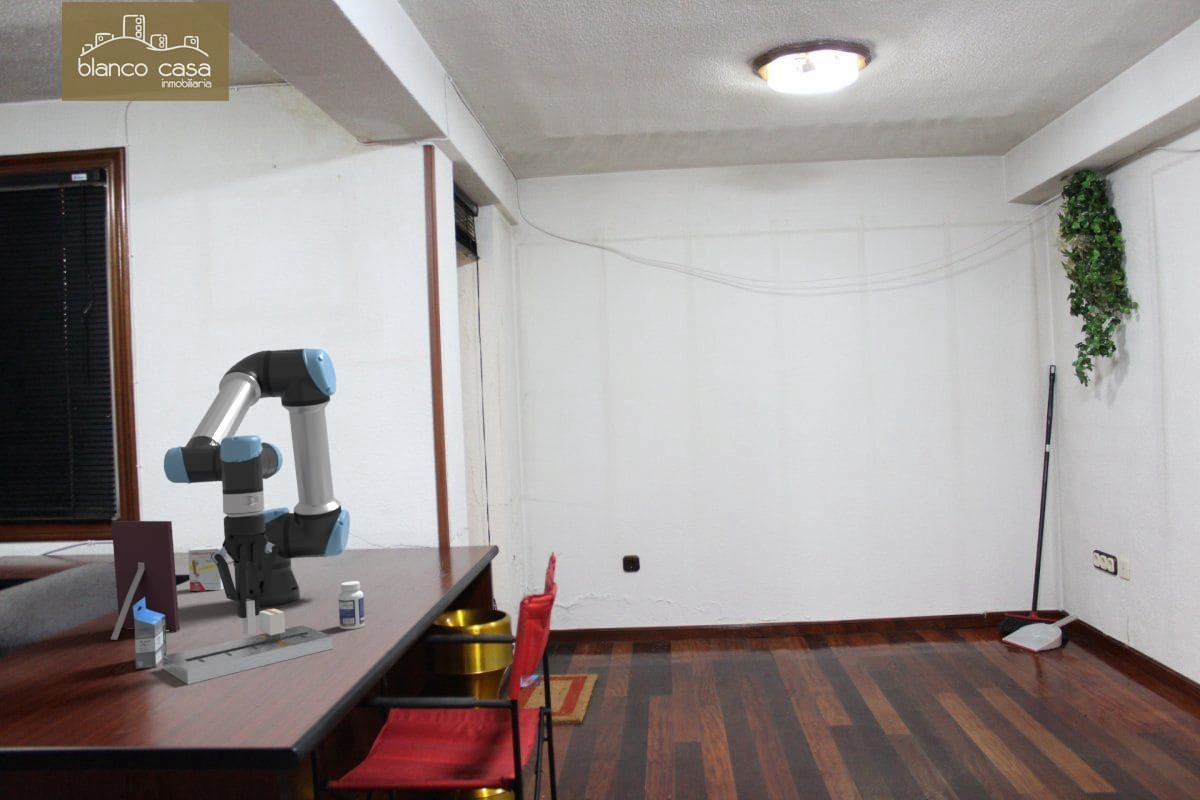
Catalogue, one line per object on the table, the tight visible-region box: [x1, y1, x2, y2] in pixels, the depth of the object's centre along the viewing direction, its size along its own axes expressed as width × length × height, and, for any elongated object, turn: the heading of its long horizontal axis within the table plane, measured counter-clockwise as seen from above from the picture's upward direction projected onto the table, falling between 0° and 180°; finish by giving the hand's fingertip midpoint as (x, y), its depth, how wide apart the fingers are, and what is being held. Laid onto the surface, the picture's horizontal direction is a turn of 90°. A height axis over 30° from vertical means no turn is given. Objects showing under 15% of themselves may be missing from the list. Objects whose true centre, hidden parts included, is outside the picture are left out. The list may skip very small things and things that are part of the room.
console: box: [162, 624, 334, 685], centre depth 171 cm, size 14×28×3 cm, turn 133°
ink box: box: [187, 544, 224, 592], centre depth 241 cm, size 9×5×12 cm, turn 95°
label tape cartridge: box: [133, 597, 168, 670], centre depth 171 cm, size 9×4×12 cm, turn 14°
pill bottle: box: [338, 580, 366, 630], centre depth 193 cm, size 5×5×10 cm
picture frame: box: [110, 520, 180, 640], centre depth 194 cm, size 17×10×25 cm, turn 71°
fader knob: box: [259, 608, 286, 643], centre depth 174 cm, size 5×3×8 cm, turn 43°
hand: (249, 633), depth 171 cm, fingers closed
